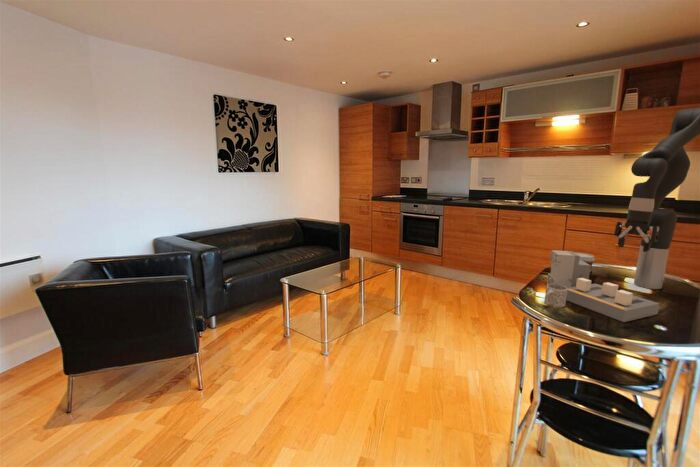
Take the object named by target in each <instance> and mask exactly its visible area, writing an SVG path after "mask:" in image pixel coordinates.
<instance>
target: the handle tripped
mask: <svg viewBox="0 0 700 467" xmlns="http://www.w3.org/2000/svg"><path fill="white" fill-rule="evenodd" d="M602 286H603V287H602V293H601V294H604V295H607V296H610V297H613V296H615V295H616V291H618V290H619V284H615V283H611V282H608V281H607V282H603V283H602Z"/></svg>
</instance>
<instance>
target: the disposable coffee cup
mask: <svg viewBox="0 0 700 467" xmlns="http://www.w3.org/2000/svg"><path fill="white" fill-rule="evenodd" d="M575 253H576V254H577V255H579V256H580V258H579V260H582V261H584V262H586V263H587V264H589V265H591V266H590V270H591V271H592V267H593V263H594V262H595V261H596V259H595V256H594V255H593V254H590V253H586V252H575Z"/></svg>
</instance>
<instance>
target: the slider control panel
mask: <svg viewBox="0 0 700 467" xmlns="http://www.w3.org/2000/svg"><path fill="white" fill-rule="evenodd" d="M602 287H603V284H599V283H591V288H590V291H586V292H584V291H581V290H578V289H576V286H575V287H571V288H567V296H566V302H570V303H573V304H575V305H578V306H581V307H583V308H586V309H589V310H591V311H594V312H596V313H599V314H602V315H604V316H607V317H609V318H611V319H614V320H616V321H620V322H622V323H626V322H630V321H631V322H632V321H634V320H638V319H639V320H640V319H643V318H647V317H648V318H649V317H652V316H656V315H658V313H659V308H660V304H661V303H659V302H656V301H653V300H649V299H646V298H643V297H640V296H637V295H634V294H633V297H632V302H631V305H626V306H625V305H622V304H619V303H616V302H614V301H615V296H613V297H610V296H607V295H604V294H601V293H602Z"/></svg>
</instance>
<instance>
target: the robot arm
mask: <svg viewBox="0 0 700 467" xmlns="http://www.w3.org/2000/svg"><path fill="white" fill-rule="evenodd" d="M699 135H700V107H694V108H685V109H683V108H682V109H680V110H678V111H677V112H676V113H675V115H674V117H673V119H672V122H671V126H670V130H669V135H668V136H666V137H665V138H663V139H662V140H660V141H659V142H658V143H657V144H656V145H655V147H654V148H653V149H651V150H649V151H647V152H646V153H644V154H643V155H641V156H639V157H638V158H637V159H635V161H634V162H632V165H631V169H630V171H631V174H632V175H634V176H636V177H640V178H641V177H646V178H648V179H647V180H646V181H643V182H638V183H635V184H634V185H633V188H632V189H633V190H632V194H631V199H630V202H629V205H628V209H627V210H628V211H627V216H626V222H623V221H617V223H616V224H615V228H614V233H613V236H616V237H617V238H618V241H617V245H618V247H619V248H624V247H625V241H626V237H627V236H628V235H635V236H641V238H642V239H641V241H640V246H639V251H638V257H637V264H636V269H635V275H634V279H633V280H634V281H633V285H636V286H638V287H642V288H646V289H651V290H653V289H654V290H659V289H662V288H663V284H664V279H665V274H666V268H667V261H668V256H669V251H670V246H671V243H672V241H673V239H674V238H673V237H674V233H675V230H676V226H677V221H678V215H677V213H676V211H674V210H671V209H665V208H660V206H661V204H662V202H663V201H664V199H666V197H668V195H670V194H671V193H672V192H673V191H675V190H676V189H677V188H679V187H680V186H681V185H682V184H683V183H684V182H685V180H686V178H687V176H688V173H689V170H690V167H691V161H690V157H689V155H688V153H687V152H686V150H685V148H684V147H685V146H686V145H687V144H688V143H690V142H691V141H693V140H694V139H695V138H697V137H698V136H699ZM624 227H625V230H623V228H624ZM648 231H650V232H651V235H650V233H649V232H648Z"/></svg>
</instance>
